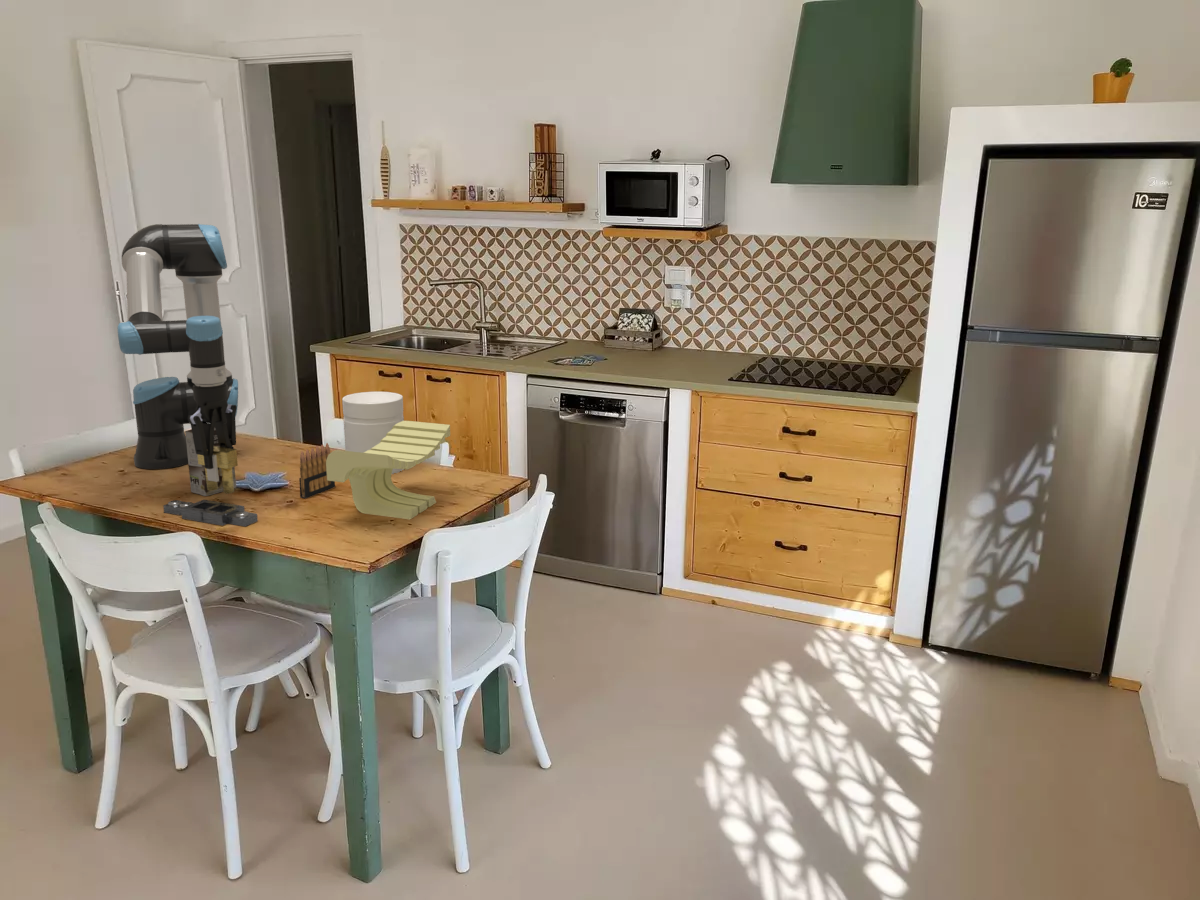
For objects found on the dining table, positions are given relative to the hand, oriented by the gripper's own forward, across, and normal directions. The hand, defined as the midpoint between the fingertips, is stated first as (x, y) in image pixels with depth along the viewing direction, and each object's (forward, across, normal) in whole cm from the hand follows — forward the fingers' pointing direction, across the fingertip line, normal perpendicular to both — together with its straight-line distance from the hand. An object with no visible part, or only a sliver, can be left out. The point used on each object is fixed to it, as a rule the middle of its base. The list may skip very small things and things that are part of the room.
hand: (219, 478), depth 218 cm
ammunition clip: (+7, +16, -16) cm, 24 cm away
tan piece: (+3, 0, 0) cm, 3 cm away
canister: (+7, +40, -16) cm, 44 cm away
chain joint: (+6, -8, -6) cm, 12 cm away
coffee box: (+7, +8, +10) cm, 14 cm away
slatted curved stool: (+6, +14, -40) cm, 43 cm away
